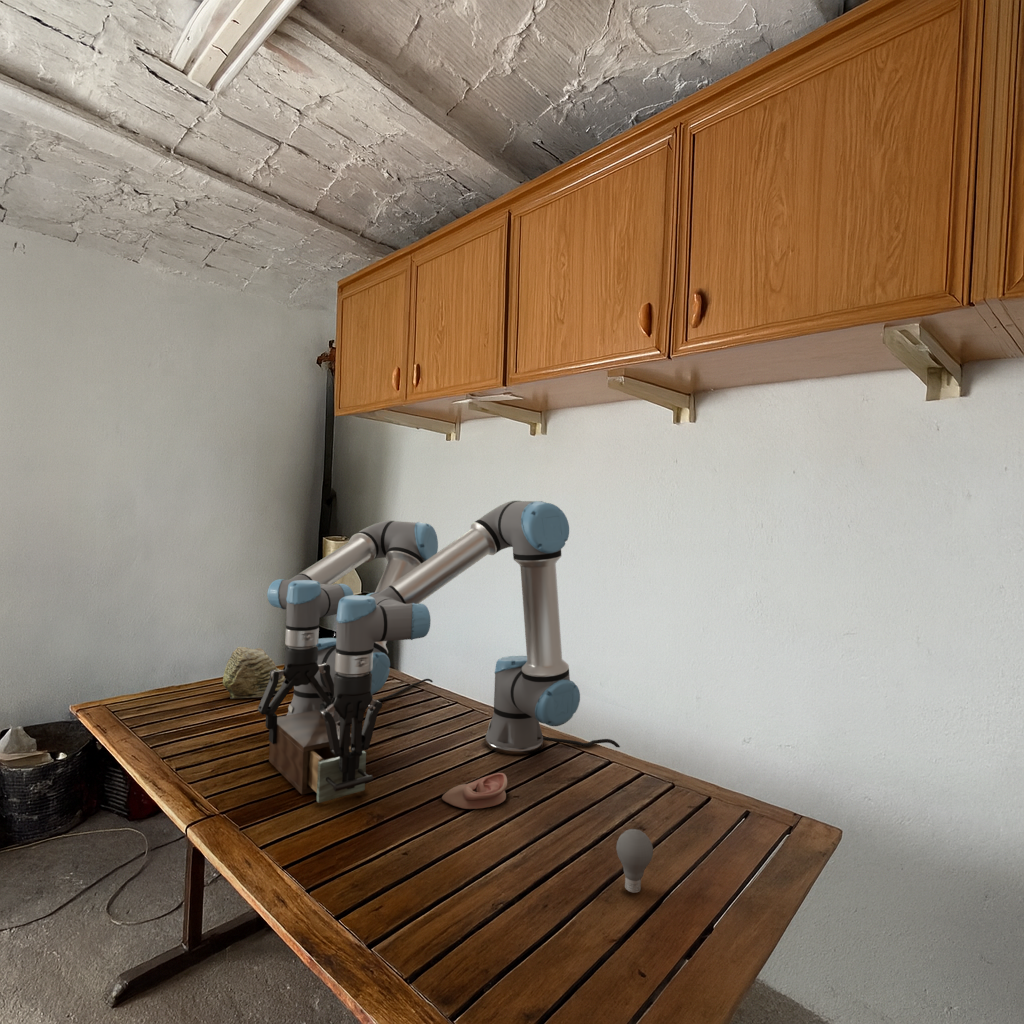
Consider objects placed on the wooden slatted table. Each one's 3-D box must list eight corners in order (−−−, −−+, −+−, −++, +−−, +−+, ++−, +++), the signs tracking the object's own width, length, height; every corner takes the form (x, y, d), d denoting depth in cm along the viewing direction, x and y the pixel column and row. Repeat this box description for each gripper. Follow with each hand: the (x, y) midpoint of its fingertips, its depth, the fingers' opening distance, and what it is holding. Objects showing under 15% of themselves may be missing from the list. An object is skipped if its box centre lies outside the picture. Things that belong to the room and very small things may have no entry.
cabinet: (352, 781, 142) (353, 736, 141) (301, 794, 134) (303, 747, 134) (315, 750, 157) (316, 709, 157) (268, 761, 150) (270, 718, 150)
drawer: (376, 800, 131) (378, 761, 131) (329, 814, 125) (331, 773, 125) (327, 759, 150) (329, 725, 150) (284, 769, 144) (286, 733, 144)
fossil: (218, 695, 195) (220, 647, 195) (278, 685, 208) (279, 640, 207) (228, 703, 189) (230, 653, 188) (289, 692, 201) (290, 645, 201)
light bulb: (610, 879, 108) (613, 822, 108) (644, 879, 109) (647, 822, 109) (619, 902, 102) (622, 840, 102) (655, 901, 103) (658, 840, 103)
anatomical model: (437, 786, 132) (453, 764, 143) (436, 805, 132) (453, 781, 143) (499, 795, 129) (511, 771, 140) (499, 814, 129) (510, 789, 141)
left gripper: (255, 655, 140) (251, 752, 141) (355, 643, 156) (351, 731, 156) (245, 648, 146) (241, 741, 147) (342, 637, 161) (338, 722, 162)
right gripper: (330, 681, 122) (325, 801, 123) (390, 672, 131) (385, 785, 131) (315, 671, 128) (310, 786, 129) (374, 663, 136) (369, 771, 137)
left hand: (298, 736), depth 151 cm, fingers closed on cabinet, 11 cm apart
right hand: (348, 785), depth 130 cm, fingers closed
